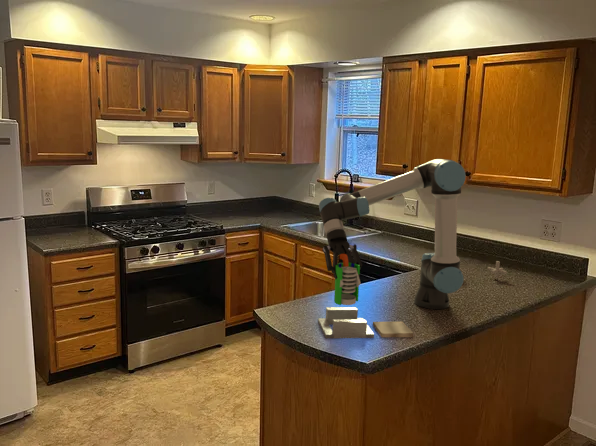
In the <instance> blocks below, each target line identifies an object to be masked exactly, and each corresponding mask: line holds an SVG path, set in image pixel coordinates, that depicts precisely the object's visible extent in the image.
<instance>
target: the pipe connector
mask: <svg viewBox="0 0 596 446" xmlns="http://www.w3.org/2000/svg"><path fill="white" fill-rule="evenodd" d="M500 263H501V262H500V261H499V260H496V261H495V268H494V267H491V266H488V267H487V271H490V274H492V275H493V274H494V278H498V279H499V274H501V275H507V273H508V271H506V270H504V268H503V267H500V265H501V264H500ZM494 278H493V279H494Z"/></svg>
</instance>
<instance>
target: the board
mask: <svg viewBox="0 0 596 446" xmlns="http://www.w3.org/2000/svg"><path fill="white" fill-rule="evenodd" d="M372 326H373V328H374V329H375V330H376V332H377V333H378V334H379V337H380V338H414V332H413V331H412V330H411V329H410V328H409V327H408V326H407V325H406V324H405V323H404V321H401V320H400V321H372Z"/></svg>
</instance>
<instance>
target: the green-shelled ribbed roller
mask: <svg viewBox="0 0 596 446" xmlns="http://www.w3.org/2000/svg"><path fill="white" fill-rule="evenodd" d="M339 260H342V262H339V263H338V264H337V265H336V275H337V277H338V278H337V279H335V278H334V298H333V299H334V301H333V302H334V303H335V304H336V305H339V306H341V305H343V306H352V305H355V304H356V303H357V302H359V292H360V291H359V289H360V288H359V287H360V286H359V287H356V281H355V280H356V277H355V276H356V273H355V272H356V269H357V272H358V274H359V272H360V273H361V271H360V270H361V269H360V265H358V264H353V263H349V262H348V257H347V255H346V254H340V255H339ZM354 265H355V266H357V267H356V268H355V266H354ZM340 280H343V284H344V285H343V286H342V287H340Z"/></svg>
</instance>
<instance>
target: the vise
mask: <svg viewBox="0 0 596 446" xmlns="http://www.w3.org/2000/svg"><path fill="white" fill-rule="evenodd" d="M358 312H359V310H358V308H357V307H355V306H352V307H351V306H347V307H345V306H343V307H341V306H338V307H337V306H336V307H333V306H331V307H327V306H326V308H325V318H324V317H323V318H317V323H318V325H319V327H320V330H321V331H322V334H323V336H324V338H325V339H374V338H375V333H374V332H373V330H372V329H371V328H370V327H371V326H369V325H368V322H367V320H366V319H364V318H363V317H358V316H359V315H358V314H359V313H358ZM331 325H332V327H331Z"/></svg>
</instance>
